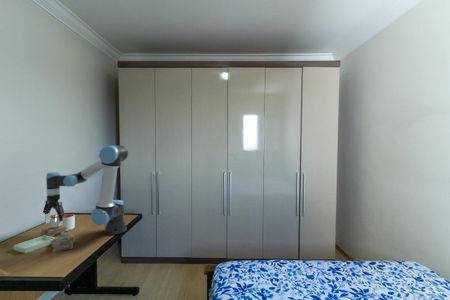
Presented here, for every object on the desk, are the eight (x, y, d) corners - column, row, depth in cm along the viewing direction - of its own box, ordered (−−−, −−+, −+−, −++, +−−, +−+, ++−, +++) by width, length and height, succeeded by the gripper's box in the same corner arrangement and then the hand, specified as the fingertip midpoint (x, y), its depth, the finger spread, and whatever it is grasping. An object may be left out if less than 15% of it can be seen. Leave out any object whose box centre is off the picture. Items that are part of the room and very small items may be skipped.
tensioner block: (72, 235, 167) (72, 228, 167) (57, 240, 158) (57, 233, 158) (56, 231, 174) (56, 224, 174) (42, 236, 164) (41, 229, 164)
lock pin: (58, 234, 168) (58, 215, 168) (53, 236, 165) (52, 216, 164) (55, 233, 170) (54, 214, 169) (49, 235, 166) (48, 215, 166)
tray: (56, 242, 155) (56, 237, 155) (25, 253, 139) (25, 248, 139) (44, 239, 160) (44, 235, 160) (13, 250, 144) (13, 245, 144)
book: (54, 243, 154) (54, 236, 154) (74, 240, 160) (74, 232, 160) (52, 252, 142) (52, 244, 141) (74, 248, 147) (73, 240, 147)
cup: (77, 227, 183) (77, 214, 183) (68, 232, 173) (67, 218, 173) (65, 226, 184) (65, 213, 184) (55, 231, 174) (55, 218, 174)
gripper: (70, 194, 165) (71, 224, 166) (47, 191, 174) (48, 220, 175) (59, 197, 158) (60, 228, 159) (36, 193, 168) (37, 223, 168)
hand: (53, 224), depth 167 cm, fingers open, 13 cm apart
